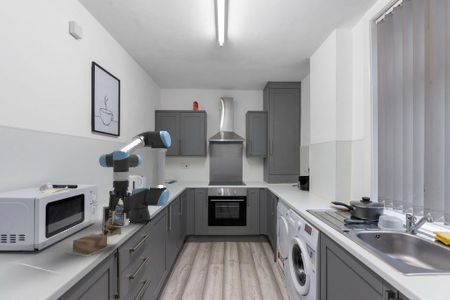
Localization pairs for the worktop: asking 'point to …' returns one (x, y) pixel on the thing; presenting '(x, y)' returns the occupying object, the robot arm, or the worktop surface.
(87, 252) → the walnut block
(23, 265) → the worktop surface
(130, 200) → the robot arm
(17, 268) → the worktop surface
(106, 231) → the coffee box
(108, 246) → the build pad
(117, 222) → the beverage can
